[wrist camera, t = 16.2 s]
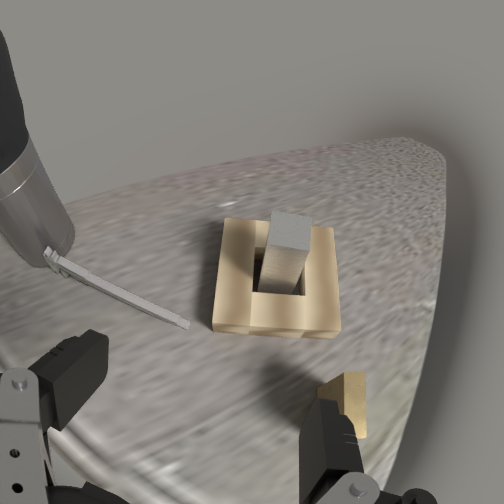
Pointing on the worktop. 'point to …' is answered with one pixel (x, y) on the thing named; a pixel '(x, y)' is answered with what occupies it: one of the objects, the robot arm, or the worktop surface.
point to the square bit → (284, 252)
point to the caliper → (110, 288)
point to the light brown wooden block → (348, 398)
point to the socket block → (275, 305)
